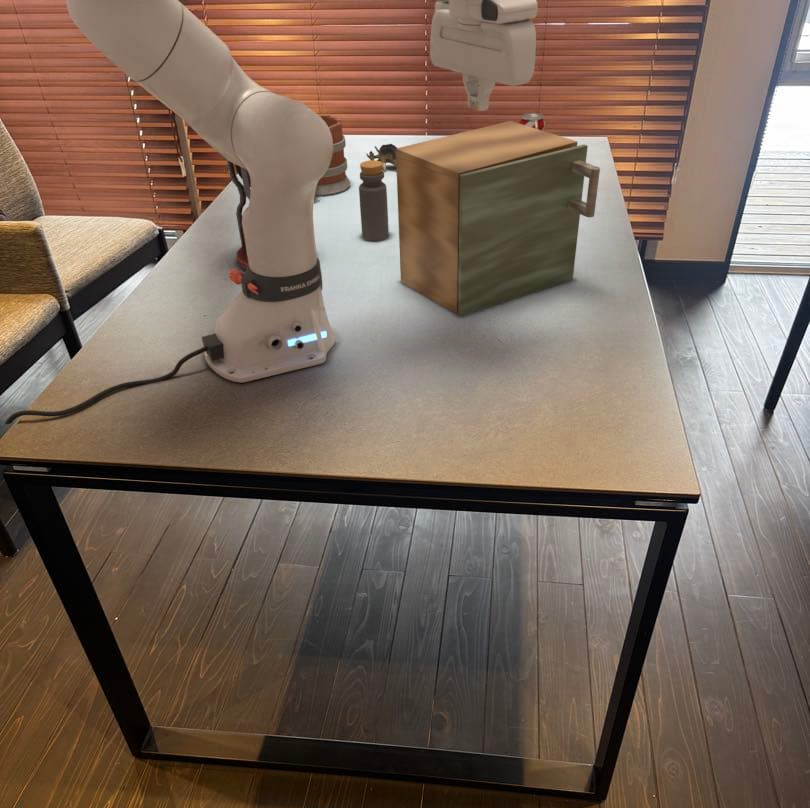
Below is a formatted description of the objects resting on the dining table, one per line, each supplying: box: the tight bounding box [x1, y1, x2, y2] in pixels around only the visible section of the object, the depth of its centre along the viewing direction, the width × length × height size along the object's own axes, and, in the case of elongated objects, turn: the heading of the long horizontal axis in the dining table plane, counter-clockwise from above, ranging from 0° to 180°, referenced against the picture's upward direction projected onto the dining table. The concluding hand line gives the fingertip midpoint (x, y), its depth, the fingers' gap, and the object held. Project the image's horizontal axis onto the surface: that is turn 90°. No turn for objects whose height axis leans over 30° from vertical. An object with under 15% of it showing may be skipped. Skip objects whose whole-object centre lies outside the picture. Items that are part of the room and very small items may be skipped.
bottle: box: [358, 159, 390, 242], centre depth 168 cm, size 6×6×15 cm
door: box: [457, 144, 601, 317], centre depth 138 cm, size 7×26×24 cm, turn 122°
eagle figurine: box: [365, 143, 398, 173], centre depth 206 cm, size 8×7×9 cm
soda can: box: [518, 112, 547, 132], centre depth 201 cm, size 7×7×12 cm
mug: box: [315, 114, 351, 197], centre depth 192 cm, size 14×19×15 cm
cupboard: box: [395, 120, 578, 315], centre depth 147 cm, size 18×26×24 cm
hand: (478, 108), depth 120 cm, fingers closed
